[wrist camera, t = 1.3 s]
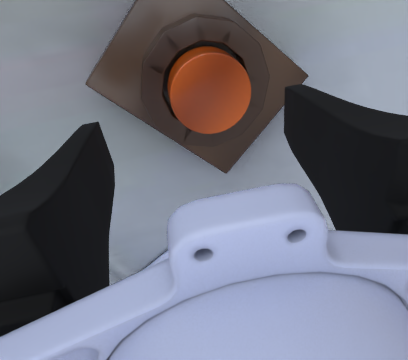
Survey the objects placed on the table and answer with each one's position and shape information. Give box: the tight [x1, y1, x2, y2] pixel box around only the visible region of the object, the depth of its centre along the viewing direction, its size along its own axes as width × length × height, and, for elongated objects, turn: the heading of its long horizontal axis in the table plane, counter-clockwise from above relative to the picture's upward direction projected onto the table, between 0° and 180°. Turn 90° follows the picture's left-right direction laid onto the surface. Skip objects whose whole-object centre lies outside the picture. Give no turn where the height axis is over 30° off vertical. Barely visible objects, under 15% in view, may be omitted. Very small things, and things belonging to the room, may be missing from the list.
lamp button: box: [167, 46, 251, 134], centre depth 20 cm, size 4×4×2 cm
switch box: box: [86, 0, 308, 173], centre depth 22 cm, size 11×8×4 cm
